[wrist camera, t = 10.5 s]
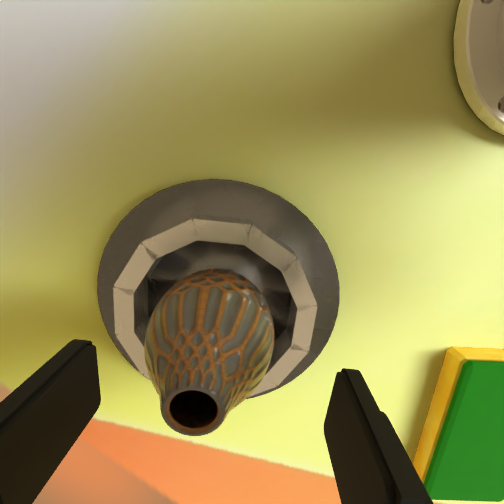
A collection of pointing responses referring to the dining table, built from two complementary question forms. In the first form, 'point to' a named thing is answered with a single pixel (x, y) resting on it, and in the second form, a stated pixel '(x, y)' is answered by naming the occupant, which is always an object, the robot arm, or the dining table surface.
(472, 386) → the dish sponge
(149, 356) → the vase
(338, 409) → the robot arm
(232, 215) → the ring seat
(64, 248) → the dining table surface
